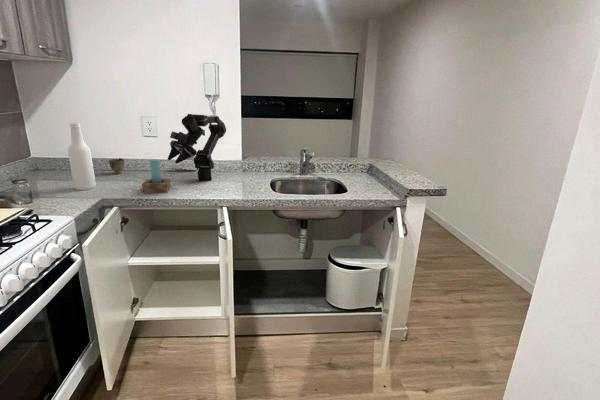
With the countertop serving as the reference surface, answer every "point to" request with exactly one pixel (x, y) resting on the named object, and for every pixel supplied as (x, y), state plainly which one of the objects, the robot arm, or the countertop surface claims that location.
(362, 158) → the countertop surface
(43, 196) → the countertop surface
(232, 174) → the countertop surface
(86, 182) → the alcohol
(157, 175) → the peg
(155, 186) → the socket
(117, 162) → the cup
